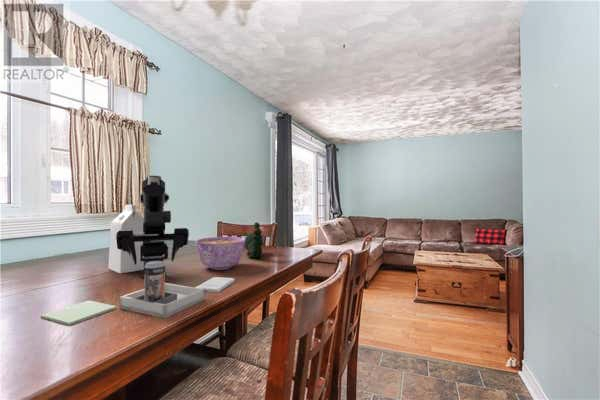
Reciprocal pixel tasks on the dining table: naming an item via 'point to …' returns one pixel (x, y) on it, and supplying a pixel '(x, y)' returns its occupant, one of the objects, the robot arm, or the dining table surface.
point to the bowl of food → (220, 251)
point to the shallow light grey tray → (163, 301)
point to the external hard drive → (216, 284)
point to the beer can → (154, 281)
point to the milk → (134, 221)
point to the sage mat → (78, 312)
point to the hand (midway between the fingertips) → (154, 262)
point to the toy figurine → (254, 243)
